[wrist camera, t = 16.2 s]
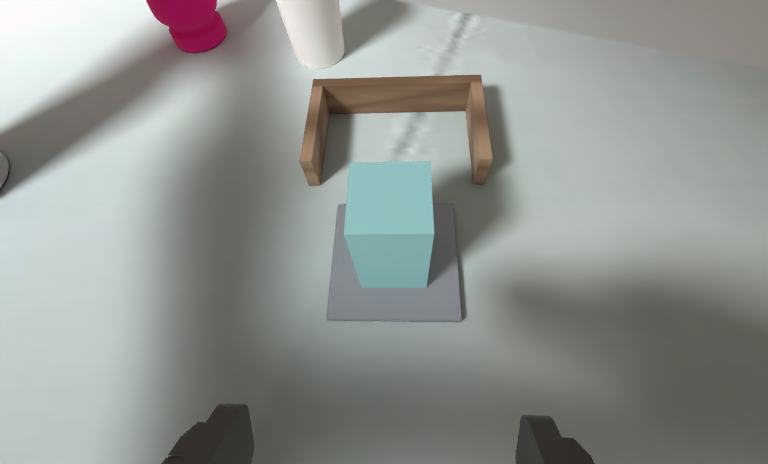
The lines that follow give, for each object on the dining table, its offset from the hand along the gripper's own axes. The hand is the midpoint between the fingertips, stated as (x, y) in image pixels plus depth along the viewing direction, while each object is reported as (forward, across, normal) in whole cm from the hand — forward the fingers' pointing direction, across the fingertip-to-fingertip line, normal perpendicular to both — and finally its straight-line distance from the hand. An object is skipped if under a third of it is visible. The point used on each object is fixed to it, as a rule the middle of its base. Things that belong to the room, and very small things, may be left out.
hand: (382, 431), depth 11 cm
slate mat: (+19, 0, -2) cm, 19 cm away
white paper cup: (+38, -10, +16) cm, 42 cm away
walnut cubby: (+28, 0, +6) cm, 29 cm away
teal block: (+19, 0, -2) cm, 19 cm away
